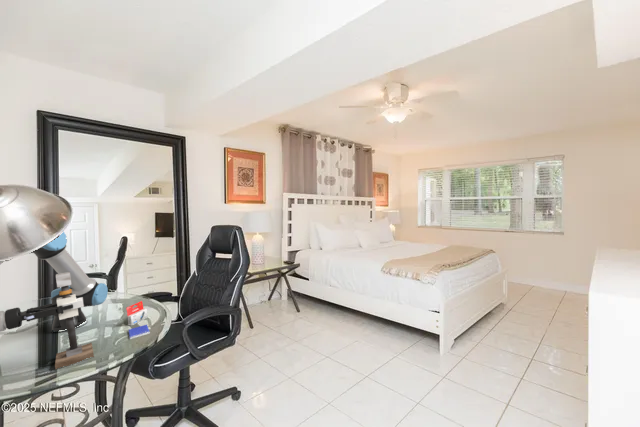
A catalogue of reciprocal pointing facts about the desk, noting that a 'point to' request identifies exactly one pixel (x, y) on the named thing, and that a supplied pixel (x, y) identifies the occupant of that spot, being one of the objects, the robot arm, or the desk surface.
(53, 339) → the desk surface
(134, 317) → the ink cartridge box
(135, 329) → the hard drive
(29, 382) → the desk surface
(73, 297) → the sleeve
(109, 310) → the desk surface
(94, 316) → the desk surface
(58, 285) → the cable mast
